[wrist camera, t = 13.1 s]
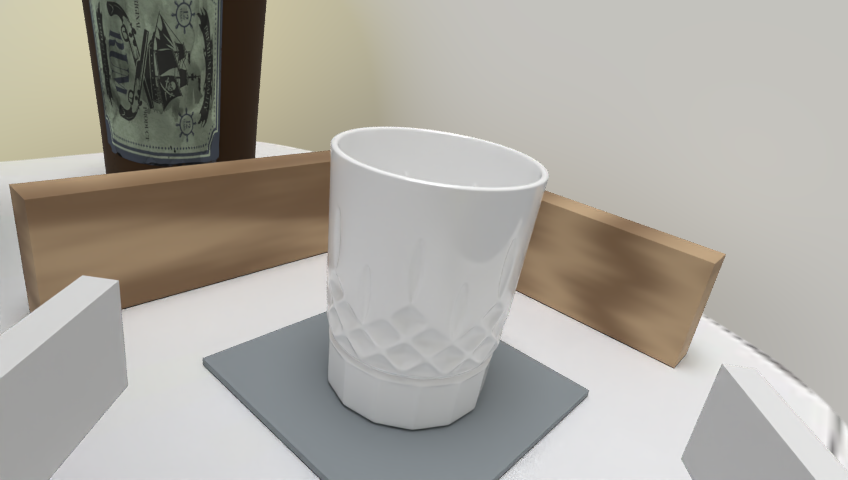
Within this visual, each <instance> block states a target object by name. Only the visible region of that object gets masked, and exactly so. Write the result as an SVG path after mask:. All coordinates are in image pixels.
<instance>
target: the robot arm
mask: <svg viewBox="0 0 848 480" xmlns="http://www.w3.org/2000/svg"><path fill="white" fill-rule="evenodd" d="M127 386H128V380H127V369H126V357H125V346H124V334H123V322H122V311H121V299H120V288H119V280H113V279H105V278H98V277H91V276H84V275H82V276H81V277H79V278H78V279H77V280H75V281H74V282H73V283H71V284H70V285H68V286H67V287H66V288H64V289H63V290H62V291H60V292H59V293H57V294H56V295H55V296H53V297H52V298H51V299H49V300H48V301H46V302H45V303H44V304H42V305H41V306H40V307H38V308H37V309H36V310H34V311H33V312H31V313H30V314H29V315H27V316H26V317H25V318H23V319H22V320H20V321H19V322H18V323H16V324H15V325H14V326H12V327H11V328H9V329H8V330H7V331H5V332H4V333H3V334H1V335H0V480H49V479H50V478H51V476H52V475H53V474H54V473H55V472H56V471H57V469H58V468H59V467H60V466H61V465H62V463H63V462H64V461H65V460H66V459H67V457H68V456H69V455H70V454H71V453H72V452H73V450H74V449H75V448H76V447H77V446H78V444H79V443H80V442H81V441H82V440H83V438H84V437H85V436H86V435H87V434H88V432H89V431H90V430H91V429H92V428H93V427H94V425H95V424H96V423H97V422H98V421H99V419H100V418H101V417H102V416H103V415H104V413H105V412H106V411H107V410H108V409H109V407H110V406H111V405H112V404H113V403H114V402H115V400H116V399H117V398H118V397H119V396H120V394H121V393H122V392H123V391H124V390H125V388H126V387H127ZM681 460H682V461H683V463H684V465H685V467H686V469H687V471H688V472H689V474H690V476H691V478H692V480H848V471H847V470H846V469H845V467H844V466H843V465H842V464H841V463H840V462H839V461H838V460H837V458H836V457H835V456H834V455H833V454H832V453H831V452H830V451H829V449H828V448H827V447H826V446H825V445H824V444H823V443H822V442H821V441H820V439H819V438H818V437H817V436H816V435H815V434H814V433H813V432H812V430H811V429H810V428H809V427H808V426H807V425H806V424H805V423H804V422H803V420H802V419H801V418H800V417H799V416H798V415H797V414H796V413H795V411H794V410H793V409H792V408H791V407H790V406H789V405H788V404H787V402H786V401H785V400H784V399H783V398H782V397H781V396H780V395H779V394H778V392H777V391H776V390H775V389H774V388H773V387H772V386H771V385H770V383H769V382H768V381H767V380H766V379H765V378H764V377H763V376H762V375H761V373H760V372H759V371H758V370H757V369H756V368H750V367H743V366H736V365H728V364H722V365H721V367H720V369H719V372H718V374H717V376H716V379H715V381H714V383H713V386H712V388H711V390H710V393H709V395H708V397H707V400H706V402H705V404H704V407H703V409H702V411H701V414H700V416H699V418H698V420H697V423H696V425H695V427H694V430H693V432H692V434H691V437H690V439H689V441H688V444H687V446H686V448H685V451H684V453H683V455H682V458H681Z"/></svg>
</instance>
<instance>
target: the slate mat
mask: <svg viewBox="0 0 848 480" xmlns="http://www.w3.org/2000/svg"><path fill="white" fill-rule="evenodd" d="M328 361H329V322H328V318H327V311H326V312H324V313H321V314H318V315H316V316H313V317H311V318H308V319H305V320H303V321H300V322H297V323H295V324H292V325H289V326H287V327H284V328H281V329H279V330H276V331H274V332H271V333H268V334H266V335H263V336H260V337H258V338H255V339H252V340H250V341H247V342H245V343H242V344H239V345H237V346H234V347H231V348H229V349H226V350H223V351H221V352H218V353H215V354H213V355H210V356H208V357H205V358H203V365H204V366H205V367H206V368H207V369H208V370H209V371H210V372H211V373H212V374H213V375H215V376H216V377H217V378H218V379H219V380H220V381H221V382H222V383H223V384H224V385H225V386H226V387H227V388H228V389H229V390H230V391H231V392H232V393H233V394H234V395H235V396H236V397H237V398H238V399H239V400H240V401H241V402H242V403H243V404H244V405H245V406H246V407H247V408H248V409H249V410H250V411H251V412H253V413H254V414H255V415H256V416H257V417H258V418H259V419H260V420H261V421H262V422H263V423H264V424H265V425H266V426H267V427H268V428H269V429H270V430H271V431H272V432H273V433H274V434H275V435H276V436H277V437H278V438H279V439H280V440H281V441H282V442H283V443H284V444H285V445H286V446H287V447H288V448H289V449H291V450H292V451H293V452H294V453H295V454H296V455H297V456H298V457H299V458H300V459H301V460H302V461H303V462H304V463H305V464H306V465H307V466H308V467H309V468H310V469H311V470H312V471H313V472H314V473H315V474H316V475H317V476H318V477H319V478H320V479H321V480H498V479H499V478H500V477H501V476H502V475H503V474H504V473H505V472H506V471H508V470H509V469H510V468H511V467H512V466H513V465H514V464H515V463H516V462H517V461H518V460H519V459H520V458H521V457H523V456H524V455H525V454H526V453H527V452H528V451H529V450H530V449H531V448H532V447H533V446H534V445H535V444H536V443H537V442H539V441H540V440H541V439H542V438H543V437H544V436H545V435H546V434H547V433H548V432H549V431H550V430H551V429H552V428H553V427H555V426H556V425H557V424H558V423H559V422H560V421H561V420H562V419H563V418H564V417H565V416H566V415H567V414H568V413H570V412H571V411H572V410H573V409H574V408H575V407H576V406H577V405H578V404H579V403H580V402H581V401H582V400H583V399H584V398H586V397H587V396H588V392H589V390H587V389H586V388H584V387H582V386H580V385H579V384H577V383H575V382H573V381H572V380H570V379H568V378H566V377H565V376H563V375H561V374H559V373H558V372H556V371H554V370H552V369H550V368H549V367H547V366H545V365H543V364H542V363H540V362H538V361H536V360H535V359H533V358H531V357H529V356H528V355H526V354H524V353H522V352H520V351H519V350H517V349H515V348H513V347H512V346H510V345H508V344H506V343H505V342H503V341H501V340H500V341H499V344H498V347H497V348H496V350H495V351H494V352H493V355H492V358H491V361H490V365H489V368H488V372H487V376H486V379H485V383H484V386H483V389H482V391H481V393H480V396H479V398H478V401H477V403H476V406H475V408H474V409H473V410H472V411H470V412H469V413H467V414H465V415H464V416H462V417H461V418H459V419H457V420H456V421H454V422H453V423H451V424H449V425H445V426H438V427H431V428H424V429H417V430H409V429H404V428H399V427H394V426H389V425H384V424H379V423H374V422H372V421H370V420H369V419H367V418H365V417H364V416H362V415H360V414H359V413H357V412H355V411H353V410H352V409H350V408H348V407H347V406H345V405H344V404H343V403H342V401H341V400H340V398H339V397H338V395H337V394H336V392H335V391H334V389H333V388H332V386H331V385H330V383H329V381H328Z"/></svg>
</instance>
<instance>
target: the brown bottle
mask: <svg viewBox="0 0 848 480" xmlns="http://www.w3.org/2000/svg"><path fill="white" fill-rule="evenodd" d="M82 3H83V10H84V16H85V23H86V29H87V35H88V43H89V50H90V56H91V63H92V70H93V77H94V84H95V91H96V98H97V105H98V112H99V119H100V126H101V135H102V143H103V151H104V159H105V168H106V174H112V173H122V172H131V171H140V170H150V169H159V168H169V167H178V166H188V165H197V164H206V163H216V162H225V161H235V160H244V159H254V158H255V149H256V131H257V116H258V103H259V89H260V75H261V62H262V49H263V36H264V24H265V13H266V0H82Z"/></svg>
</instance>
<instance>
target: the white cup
mask: <svg viewBox="0 0 848 480" xmlns="http://www.w3.org/2000/svg"><path fill="white" fill-rule="evenodd" d="M548 178H549V173H548V171H547V169H546V168H545V167H544V166H543V165H542V164H541V163H540V162H538V161H537V160H535V159H533V158H532V157H530V156H528V155H526V154H524V153H521V152H519V151H517V150H514V149H512V148H509V147H506V146H503V145H500V144H497V143H493V142H490V141H486V140H482V139H478V138H473V137H469V136H464V135H460V134H455V133H449V132H443V131H435V130H428V129H419V128H407V127H406V128H405V127H368V128H367V127H366V128H358V129H352V130H348V131H344V132H342V133H339V134H338V135H336V136H335V137H334V138H333V139H332V140H331V155H330V193H329V223H328V257H327V305H328V306H327V318H328V322H329V361H328V381H329V383H330V385H331V386H332V388H333V389H334V391H335V392H336V394H337V395H338V397H339V398H340V400H341V401H342V403H343V404H344V405H345V406H347V407H348V408H350V409H352V410H353V411H355V412H357V413H359V414H360V415H362V416H364V417H365V418H367V419H369V420H370V421H372V422H374V423H379V424H384V425H389V426H394V427H399V428H404V429H409V430H417V429H424V428H431V427H438V426H445V425H449V424H451V423H453V422H454V421H456V420H457V419H459V418H461V417H462V416H464V415H465V414H467V413H469V412H470V411H472V410H473V409H474V408H475V406H476V403H477V401H478V398H479V396H480V393H481V391H482V389H483V386H484V383H485V379H486V376H487V372H488V368H489V365H490V361H491V358H492V355H493V352H494V351H495V350H496V348H497V347H498V344H499V341H500V338H501V334H502V330H503V326H504V324H505V321H506V319H507V317H508V314H509V311H510V307H511V304H512V301H513V298H514V294H515V291H516V287H517V284H518V280H519V277H520V274H521V270H522V267H523V263H524V260H525V256H526V253H527V250H528V246H529V243H530V239H531V236H532V232H533V229H534V225H535V222H536V219H537V215H538V212H539V208H540V205H541V202H542V198H543V195H544V192H545V188H546V184H547V181H548Z"/></svg>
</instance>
